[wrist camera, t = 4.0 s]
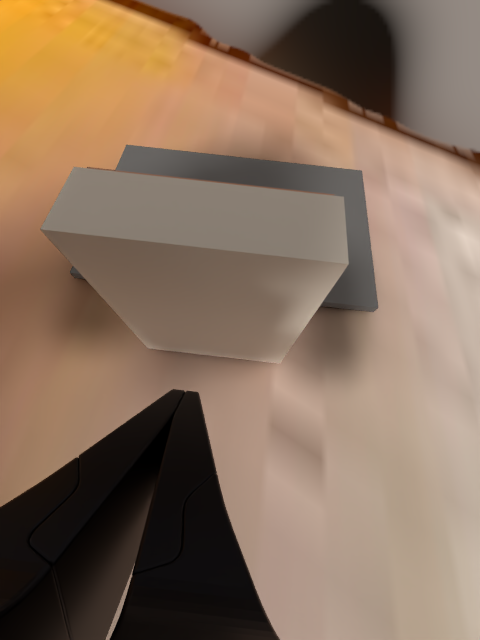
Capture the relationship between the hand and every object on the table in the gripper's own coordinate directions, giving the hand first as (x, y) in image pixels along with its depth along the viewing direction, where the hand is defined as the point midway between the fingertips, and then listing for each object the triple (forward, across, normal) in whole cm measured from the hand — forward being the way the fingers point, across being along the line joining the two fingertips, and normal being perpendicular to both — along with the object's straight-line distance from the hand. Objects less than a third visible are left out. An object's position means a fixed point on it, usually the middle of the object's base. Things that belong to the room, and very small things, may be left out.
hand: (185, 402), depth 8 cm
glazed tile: (+8, 0, +1) cm, 8 cm away
